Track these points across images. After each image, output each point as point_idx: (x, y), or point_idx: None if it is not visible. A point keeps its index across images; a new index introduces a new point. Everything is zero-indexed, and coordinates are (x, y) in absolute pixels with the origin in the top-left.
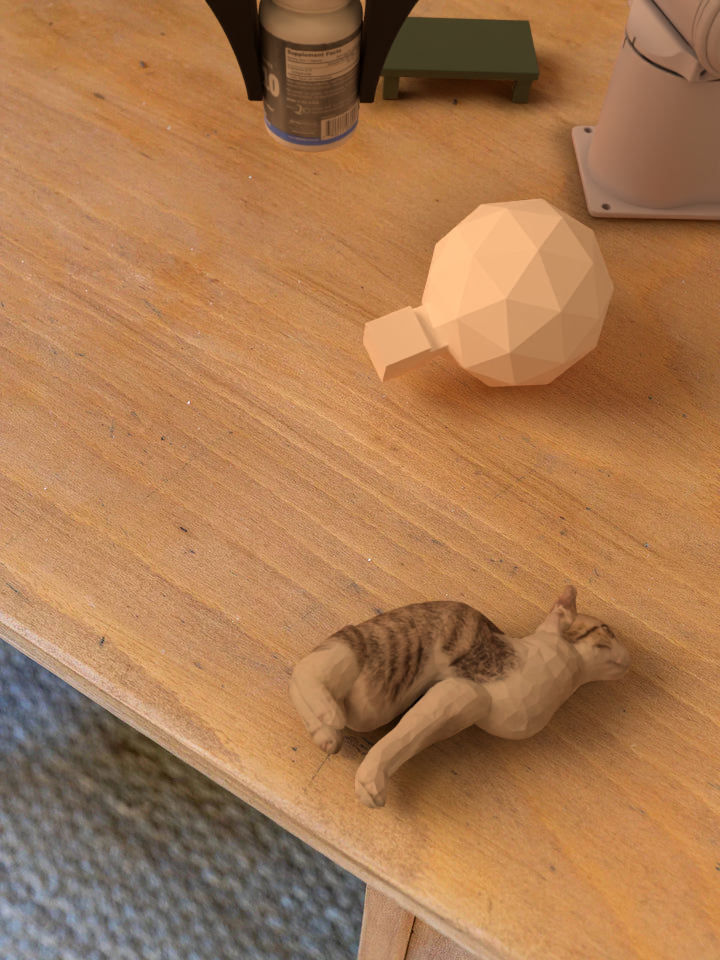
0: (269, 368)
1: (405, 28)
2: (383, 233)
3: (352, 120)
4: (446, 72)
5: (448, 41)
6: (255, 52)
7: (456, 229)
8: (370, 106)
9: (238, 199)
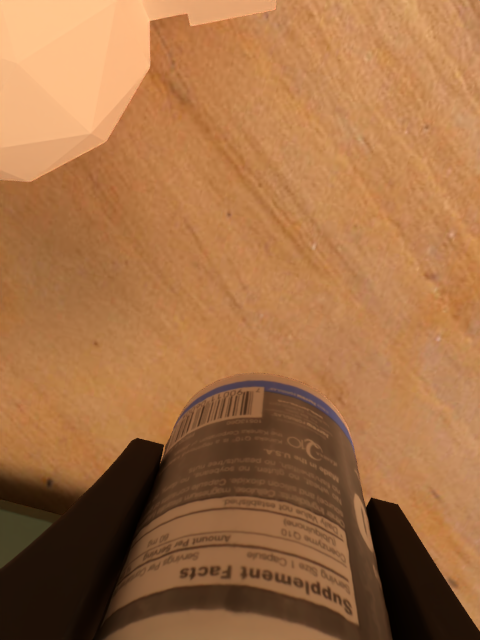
0: (415, 76)
1: None
2: (176, 306)
3: (187, 417)
4: (43, 518)
5: None
6: (425, 624)
7: (14, 50)
8: None
9: (347, 405)
